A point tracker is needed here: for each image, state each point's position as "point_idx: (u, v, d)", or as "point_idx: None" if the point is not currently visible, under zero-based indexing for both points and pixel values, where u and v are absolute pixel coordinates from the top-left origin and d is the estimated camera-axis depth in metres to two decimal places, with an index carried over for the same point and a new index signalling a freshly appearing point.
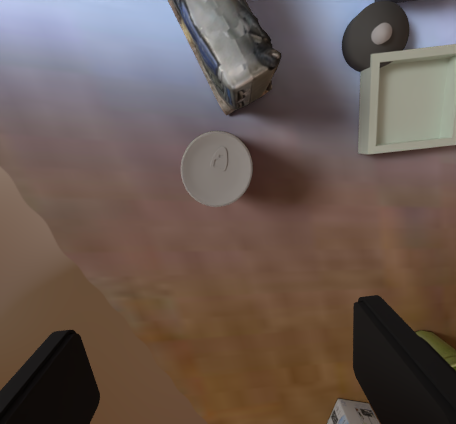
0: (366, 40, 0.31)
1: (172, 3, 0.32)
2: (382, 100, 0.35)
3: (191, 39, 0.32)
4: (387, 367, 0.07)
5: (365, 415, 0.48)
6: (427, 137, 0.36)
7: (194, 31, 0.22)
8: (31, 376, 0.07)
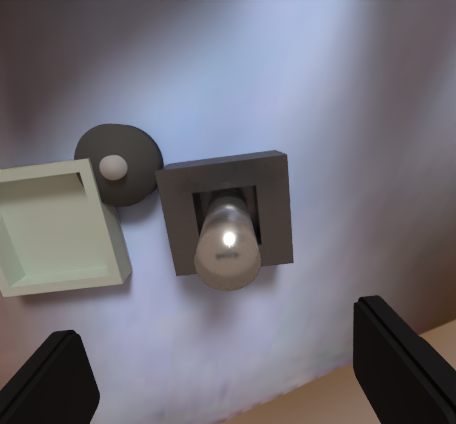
0: (106, 148, 0.22)
1: None
2: (53, 193, 0.25)
3: None
4: (387, 367, 0.07)
5: None
6: (22, 261, 0.27)
7: None
8: (31, 376, 0.07)
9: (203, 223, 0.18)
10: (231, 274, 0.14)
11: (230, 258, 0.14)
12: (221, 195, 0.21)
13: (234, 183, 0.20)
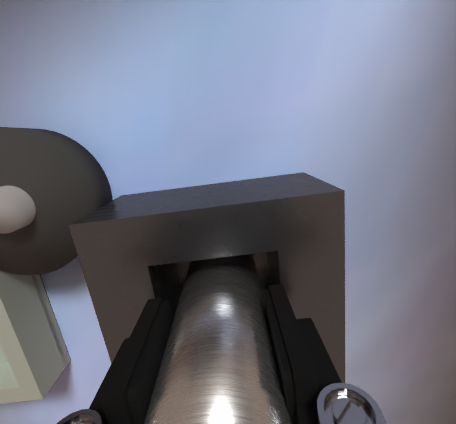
0: None
1: None
2: None
3: None
4: (273, 342, 0.08)
5: None
6: None
7: None
8: (148, 330, 0.08)
9: (165, 349, 0.08)
10: None
11: None
12: (209, 263, 0.11)
13: (233, 247, 0.10)
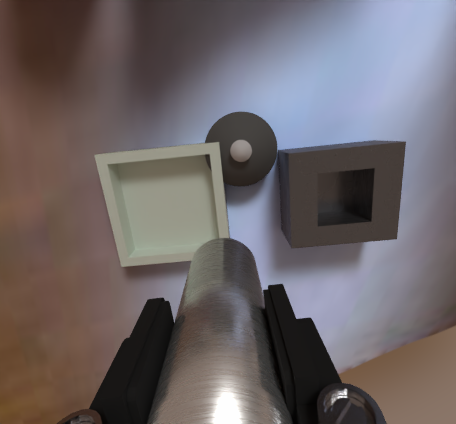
0: (235, 134, 0.25)
1: None
2: (172, 173, 0.28)
3: None
4: (273, 342, 0.08)
5: None
6: (134, 235, 0.30)
7: None
8: (148, 330, 0.08)
9: None
10: None
11: None
12: (210, 264, 0.11)
13: (355, 166, 0.23)
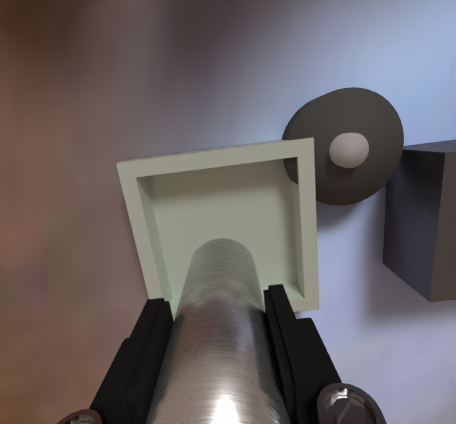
0: (338, 124, 0.15)
1: None
2: (230, 187, 0.18)
3: None
4: (273, 342, 0.08)
5: None
6: (171, 277, 0.20)
7: None
8: (148, 330, 0.08)
9: (165, 352, 0.08)
10: None
11: None
12: (209, 264, 0.11)
13: None
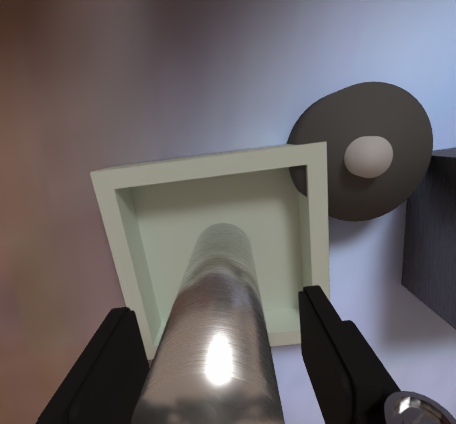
0: (356, 125, 0.13)
1: None
2: (227, 199, 0.16)
3: None
4: (315, 346, 0.08)
5: None
6: (159, 302, 0.18)
7: None
8: (104, 343, 0.08)
9: None
10: None
11: None
12: (211, 240, 0.14)
13: None
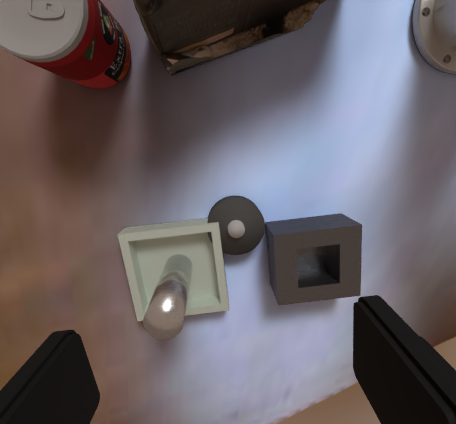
0: (231, 215, 0.31)
1: None
2: (180, 243, 0.34)
3: None
4: (387, 367, 0.07)
5: None
6: (147, 293, 0.35)
7: None
8: (31, 376, 0.07)
9: (155, 289, 0.28)
10: (165, 329, 0.24)
11: (164, 320, 0.24)
12: (170, 264, 0.31)
13: (325, 242, 0.30)
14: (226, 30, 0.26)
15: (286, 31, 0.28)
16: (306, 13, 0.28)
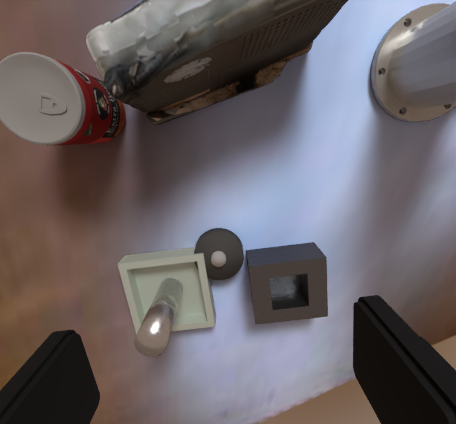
0: (214, 247, 0.36)
1: None
2: (172, 268, 0.39)
3: None
4: (387, 367, 0.07)
5: None
6: (144, 310, 0.41)
7: None
8: (31, 376, 0.07)
9: None
10: (152, 349, 0.29)
11: (151, 341, 0.29)
12: (162, 288, 0.36)
13: (294, 272, 0.34)
14: (202, 91, 0.30)
15: (257, 86, 0.32)
16: (275, 70, 0.32)
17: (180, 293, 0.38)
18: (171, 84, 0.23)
